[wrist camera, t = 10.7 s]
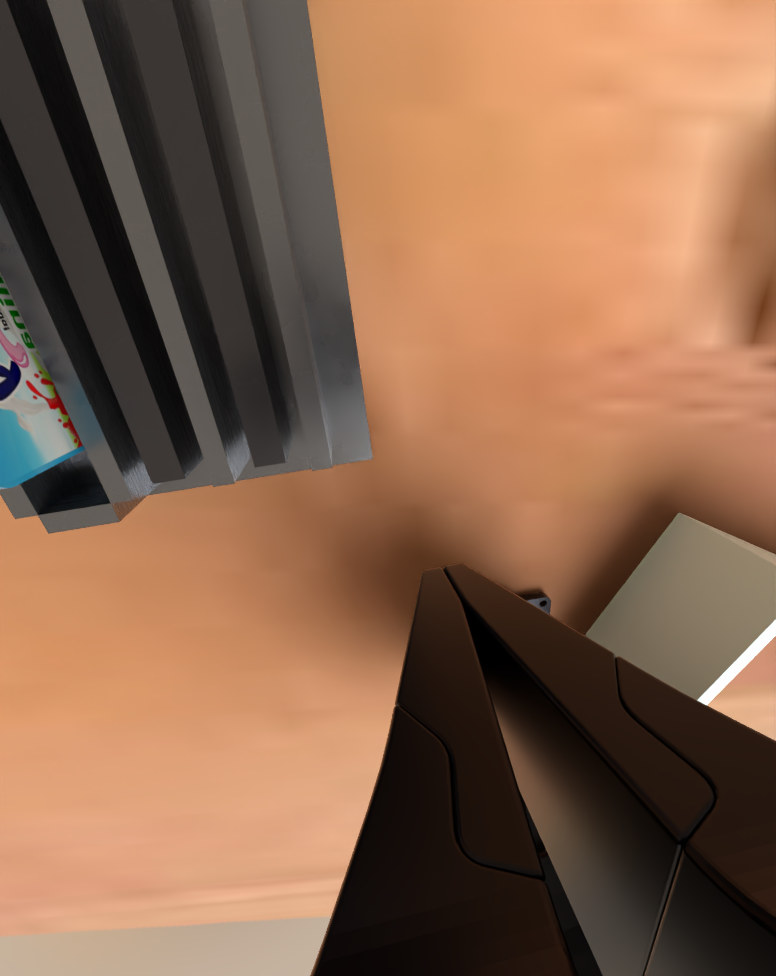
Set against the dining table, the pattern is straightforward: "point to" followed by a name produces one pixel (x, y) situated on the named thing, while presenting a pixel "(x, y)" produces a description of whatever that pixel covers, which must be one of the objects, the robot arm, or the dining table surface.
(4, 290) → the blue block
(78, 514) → the rack
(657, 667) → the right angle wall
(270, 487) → the dining table surface
